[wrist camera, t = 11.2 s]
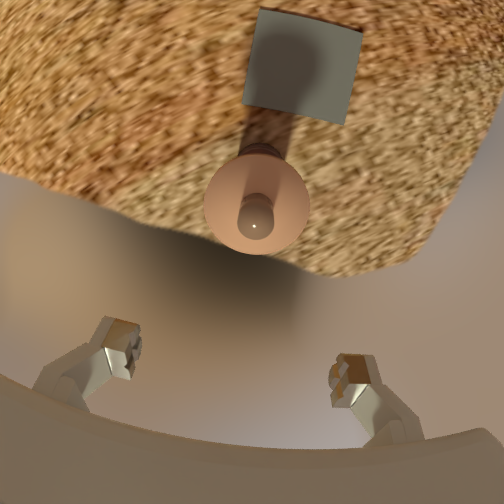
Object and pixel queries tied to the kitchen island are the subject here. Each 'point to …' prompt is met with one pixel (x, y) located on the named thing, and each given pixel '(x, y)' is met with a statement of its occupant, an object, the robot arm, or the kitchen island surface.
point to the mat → (302, 66)
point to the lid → (256, 204)
